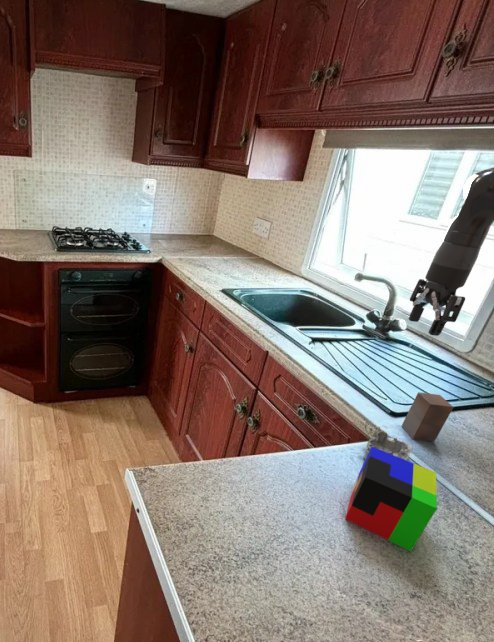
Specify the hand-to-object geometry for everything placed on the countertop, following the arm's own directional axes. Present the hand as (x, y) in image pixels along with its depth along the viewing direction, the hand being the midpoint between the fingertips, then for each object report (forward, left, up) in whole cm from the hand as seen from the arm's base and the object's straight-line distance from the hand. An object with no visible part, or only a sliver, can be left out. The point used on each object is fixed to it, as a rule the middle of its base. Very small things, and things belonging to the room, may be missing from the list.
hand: (422, 327), depth 100 cm
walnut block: (0, +14, -22) cm, 26 cm away
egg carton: (+13, +25, -22) cm, 36 cm away
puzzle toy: (+22, +42, -22) cm, 52 cm away
